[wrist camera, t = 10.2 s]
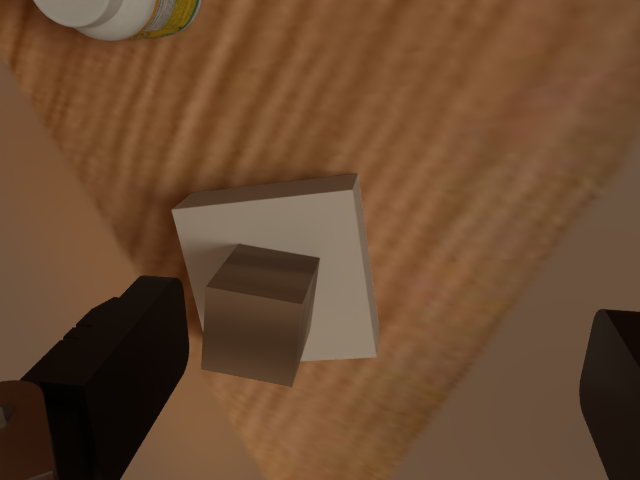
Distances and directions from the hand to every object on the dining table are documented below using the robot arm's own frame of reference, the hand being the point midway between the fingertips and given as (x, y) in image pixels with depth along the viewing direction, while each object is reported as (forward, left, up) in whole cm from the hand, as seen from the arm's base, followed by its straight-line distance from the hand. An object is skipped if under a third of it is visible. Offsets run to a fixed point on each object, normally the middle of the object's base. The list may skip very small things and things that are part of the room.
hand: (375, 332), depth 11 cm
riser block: (+10, -7, -25) cm, 28 cm away
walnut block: (+10, -7, -21) cm, 24 cm away
